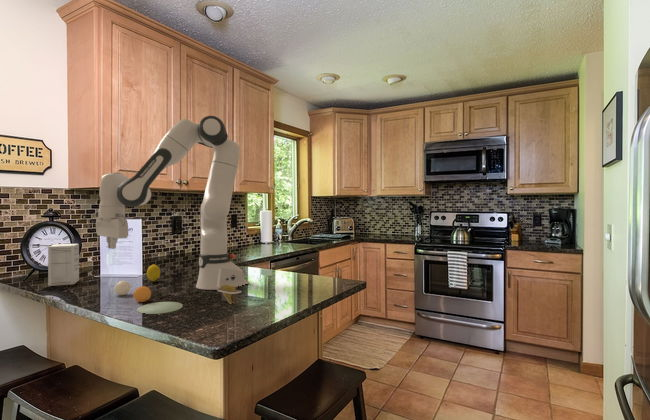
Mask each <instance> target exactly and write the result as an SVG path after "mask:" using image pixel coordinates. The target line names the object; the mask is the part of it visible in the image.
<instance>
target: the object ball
mask: <svg viewBox="0 0 650 420" xmlns="http://www.w3.org/2000/svg"><path fill="white" fill-rule="evenodd" d="M151 296H152V290H151V289H150V288H149V287H147V286H145V285H143V286H142V285H141V286H139V287H137V288H136V289H135V290H134V292H133V297H134V300H135V301H136V302H140V303H146V302H147V301H148V300H149V299H150V298H151Z"/></svg>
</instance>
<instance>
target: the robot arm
mask: <svg viewBox="0 0 650 420" xmlns="http://www.w3.org/2000/svg"><path fill="white" fill-rule="evenodd" d="M196 144H198V145H199V144H200V145H202V146H205V147H207V148H212V149H213V155H212V160H211V165H210V169H209V172H208V177H207V181H206V185H205V189H204V190H205V191H204V195H203V199H202V202H201V204H200V246H199V247H200V253H199V255H198V256H199V257H198V268H199V271H198V277H197V282H196V285H195V288H196V289H199V290H209V291H210V290H216V291H218V289H219V288H221V287H222V286H221V285H223V286H224V284H225V285H228V286H229V285H231V286H233V287H234V286H236V288H239V287H243V286H242V285H244V286H246V285H245V284H248V285H250V281H249V280H248V279H245V275H244V270H243V269H242V268H241V267H239V266H238V265H236V264H235V263H234V262H232V260H235V258H236V255H235V254H234V253H228V227H227V226H228V222H227V221H228V219H227V216H228V215H229V212H230V208H231V203H232V202H231V201H232V198H233V191H234V185H235V181H236V177H237V173H238V168H239V164H240V156H241V155H240V154H241V149H240V148H241V147H240V145H239V144H238V143H237V142H236V141H234V140H232V139H229V135H228V131H227V128H226V125H225V124H224V122H223V120H222V119H220V117H218V116H216V115H207V116H204V117H202V119H201V120H200V121H199V123H195V122H194V121H192V120H189V119H185V118H184V119H180V120H178V121H177V122H176V123H175V124H174V125H173V126H172V127H171V128H169V130H168V131H167V132H166V133H165V134H164V136H163V137H162V139H161V140H160V141H159V143H158V145H157V146H156V147H155V149H154V151H153V153H152V155H151V156H150V157H149V158H148V160H147V161H145V163H144V165H143V166H142V167H141V168H140V169H139V170H138V171H137V172H136V173H135V174H134V175H133V176H132V177H128V176H127V175H125V174H124V173H123V172H122V173H121V172H110V173H106V174H104V175H102V176H101V178H100V183H99V193H98V194H99V198H100V200H99V201H100V202H99V206H98V210H97V211H95V213H94V218H96V219H95V231H96V232H95V233H96V235H97V236H99V237H106V243H107V248H108V249H111V250H115V249H117V243H118V240H119V239H128V236H129V223H128V219H126V207H130V208H135V207H140V206H144V205H146V204H147V203H148V202H149V201H151V199H152V190H151V189H150V186H151V185H152V184H153V183H154V181H155V180H156V179H157V177H159V175H160V174H161V173H162V172H163V171H164V170H165V169H166V168H168V167H170V166H173V165H175V164H178V163H180V161H182V160H183V159H184V158H185V157H186V156H187V154H188V153H189V152H190V150H192V148H193V147H194V146H195V145H196ZM231 259H232V260H231ZM238 286H239V287H238Z"/></svg>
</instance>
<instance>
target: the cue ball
mask: <svg viewBox="0 0 650 420" xmlns="http://www.w3.org/2000/svg"><path fill="white" fill-rule="evenodd" d="M131 290H132V286H131V283H130V282H129V281H127V280H120V281H118V282H117V283H116V284H115V285H114V290H113V291H114V292H115V293H116V295H118V296H125V295H127V294H129V293H130V292H131Z"/></svg>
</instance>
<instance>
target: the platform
mask: <svg viewBox="0 0 650 420" xmlns="http://www.w3.org/2000/svg"><path fill="white" fill-rule="evenodd" d="M221 286H222V287H221V288H219V289H218V290H217V292H219V293H221V301H222V302H225V301H227V302H226V303H229V304H230V305H233V304H235V303H238V302H239V301H238V300H239V297H238V295H239V294H240V293H242V290H240V289H237V287H236V286H234V287H233V286H231V285H229V286H228V285H225V284H224V286H223V285H221ZM233 302H234V303H233ZM232 303H233V304H232Z"/></svg>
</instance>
